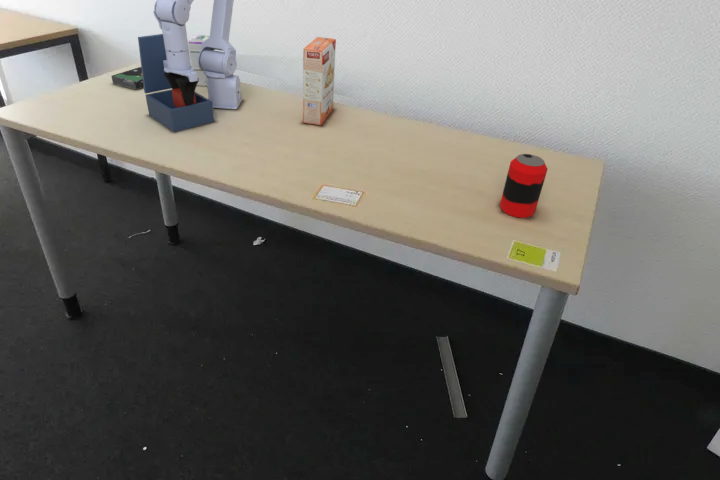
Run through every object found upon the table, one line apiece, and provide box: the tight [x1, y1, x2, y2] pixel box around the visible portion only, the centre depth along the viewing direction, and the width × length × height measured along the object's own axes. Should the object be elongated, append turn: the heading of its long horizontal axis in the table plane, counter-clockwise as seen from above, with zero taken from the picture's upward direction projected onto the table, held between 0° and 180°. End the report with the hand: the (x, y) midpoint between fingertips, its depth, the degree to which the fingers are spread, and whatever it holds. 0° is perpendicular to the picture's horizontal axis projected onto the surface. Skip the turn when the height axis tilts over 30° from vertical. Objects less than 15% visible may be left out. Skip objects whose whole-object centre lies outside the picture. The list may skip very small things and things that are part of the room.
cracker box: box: [302, 36, 337, 126], centre depth 144 cm, size 14×6×21 cm, turn 168°
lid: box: [137, 33, 172, 94], centre depth 139 cm, size 15×12×1 cm
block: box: [171, 88, 196, 108], centre depth 137 cm, size 4×4×4 cm
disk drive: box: [111, 66, 144, 90], centre depth 166 cm, size 10×3×15 cm
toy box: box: [145, 88, 215, 133], centre depth 141 cm, size 15×12×6 cm
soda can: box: [499, 153, 548, 219], centre depth 109 cm, size 8×8×12 cm
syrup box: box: [187, 34, 210, 87], centre depth 164 cm, size 6×6×14 cm
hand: (184, 101), depth 138 cm, fingers closed on block, 4 cm apart
